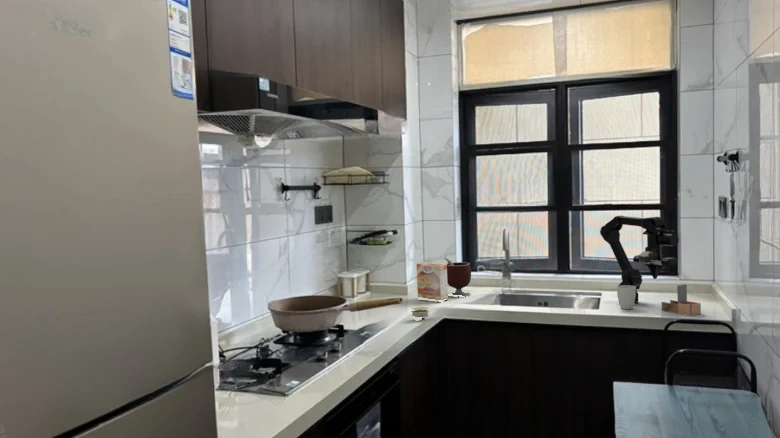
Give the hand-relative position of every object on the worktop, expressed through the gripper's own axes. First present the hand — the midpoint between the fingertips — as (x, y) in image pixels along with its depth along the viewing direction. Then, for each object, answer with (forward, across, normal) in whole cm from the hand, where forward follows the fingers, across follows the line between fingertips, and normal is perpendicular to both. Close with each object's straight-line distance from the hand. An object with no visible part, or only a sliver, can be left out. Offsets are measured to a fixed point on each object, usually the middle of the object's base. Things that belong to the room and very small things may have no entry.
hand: (654, 278), depth 262 cm
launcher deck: (+13, +10, 0) cm, 16 cm away
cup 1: (+13, -6, -12) cm, 19 cm away
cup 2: (+13, +16, 0) cm, 21 cm away
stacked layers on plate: (+14, -50, -95) cm, 108 cm away
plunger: (+10, +13, 0) cm, 17 cm away
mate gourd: (+13, -84, -50) cm, 99 cm away
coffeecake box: (+13, -82, -67) cm, 107 cm away
